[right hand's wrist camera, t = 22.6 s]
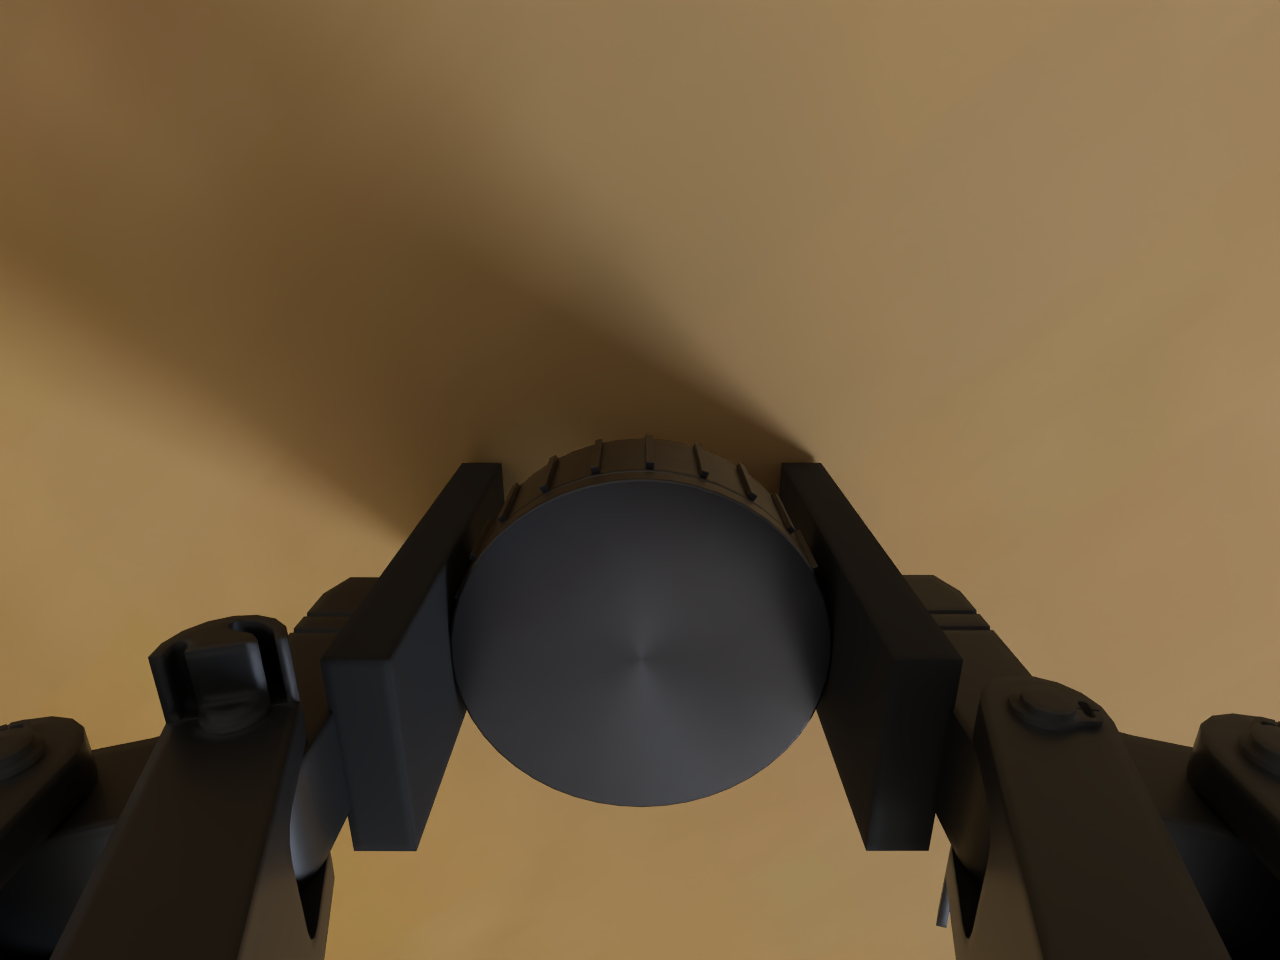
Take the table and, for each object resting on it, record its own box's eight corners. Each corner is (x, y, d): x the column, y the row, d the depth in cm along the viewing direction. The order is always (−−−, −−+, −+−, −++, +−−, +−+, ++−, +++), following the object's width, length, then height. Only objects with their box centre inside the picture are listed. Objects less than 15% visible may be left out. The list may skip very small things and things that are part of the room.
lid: (417, 648, 12) (381, 719, 11) (570, 366, 11) (557, 396, 9) (695, 776, 13) (704, 861, 12) (876, 537, 12) (918, 593, 10)
